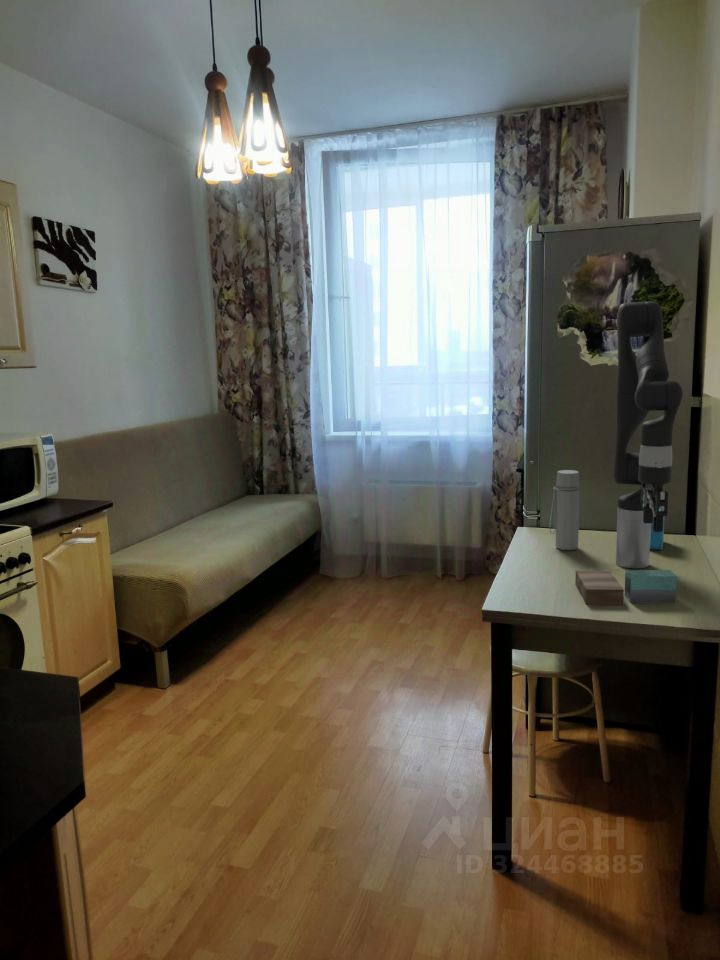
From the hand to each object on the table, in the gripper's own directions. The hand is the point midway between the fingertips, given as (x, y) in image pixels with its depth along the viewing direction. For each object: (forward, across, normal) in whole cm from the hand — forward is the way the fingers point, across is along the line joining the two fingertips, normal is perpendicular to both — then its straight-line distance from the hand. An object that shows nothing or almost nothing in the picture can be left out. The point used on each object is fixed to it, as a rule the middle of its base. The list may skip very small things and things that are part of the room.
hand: (652, 527), depth 170 cm
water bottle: (+19, -46, -14) cm, 52 cm away
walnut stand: (+19, -3, -12) cm, 23 cm away
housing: (+19, 0, 0) cm, 19 cm away
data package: (+19, -49, +15) cm, 55 cm away
